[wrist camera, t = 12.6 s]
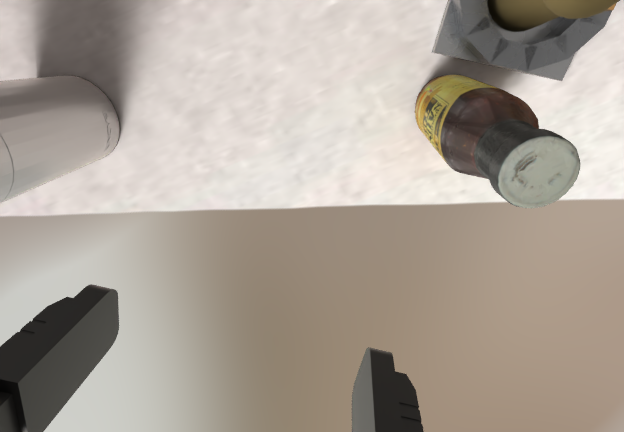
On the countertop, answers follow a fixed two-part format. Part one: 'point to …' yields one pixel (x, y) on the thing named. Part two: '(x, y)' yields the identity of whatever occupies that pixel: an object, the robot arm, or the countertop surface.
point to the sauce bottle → (496, 140)
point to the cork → (542, 11)
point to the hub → (514, 39)
